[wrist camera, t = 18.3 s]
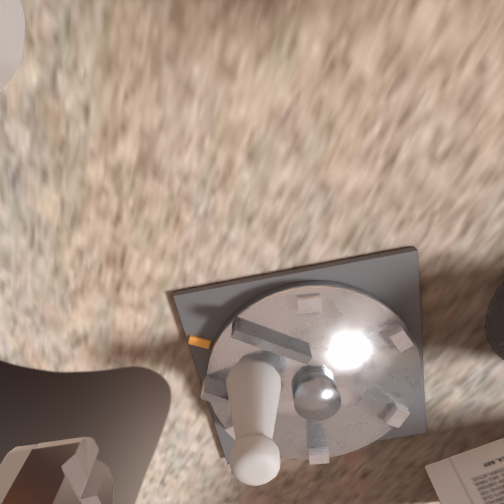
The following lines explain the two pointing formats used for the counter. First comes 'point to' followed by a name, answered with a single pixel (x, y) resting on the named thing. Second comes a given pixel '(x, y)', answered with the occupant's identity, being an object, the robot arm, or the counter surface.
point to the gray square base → (344, 271)
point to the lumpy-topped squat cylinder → (10, 39)
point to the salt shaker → (254, 419)
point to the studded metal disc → (321, 366)
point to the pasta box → (470, 476)
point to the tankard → (496, 322)
